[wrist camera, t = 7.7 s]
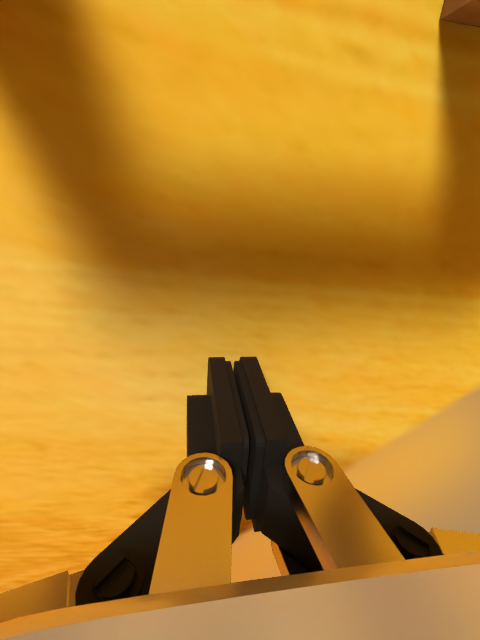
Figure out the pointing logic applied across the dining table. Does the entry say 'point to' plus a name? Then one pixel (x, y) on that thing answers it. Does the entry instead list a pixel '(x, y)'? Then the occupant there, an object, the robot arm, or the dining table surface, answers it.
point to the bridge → (462, 11)
